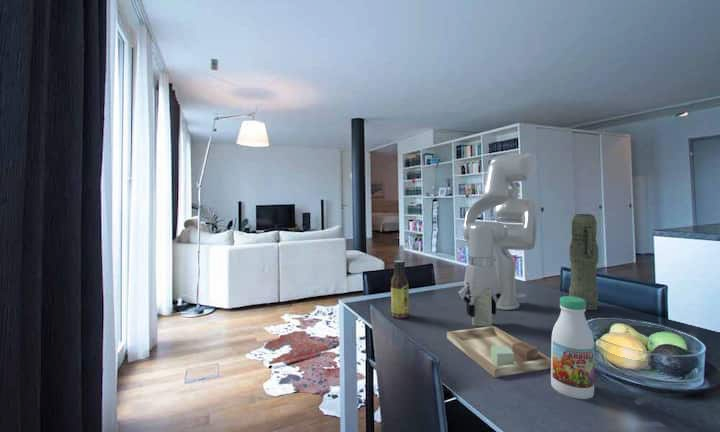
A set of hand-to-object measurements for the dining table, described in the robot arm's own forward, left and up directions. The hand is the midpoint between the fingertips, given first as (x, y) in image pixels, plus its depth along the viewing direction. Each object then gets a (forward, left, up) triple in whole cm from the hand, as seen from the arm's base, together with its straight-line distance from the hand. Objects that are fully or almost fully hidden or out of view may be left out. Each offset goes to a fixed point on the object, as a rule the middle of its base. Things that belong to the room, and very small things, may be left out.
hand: (481, 314), depth 107 cm
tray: (+9, +19, -3) cm, 21 cm away
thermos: (-46, -4, -4) cm, 46 cm away
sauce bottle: (+23, -15, -4) cm, 28 cm away
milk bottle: (+4, +38, -4) cm, 38 cm away
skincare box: (0, 0, -4) cm, 4 cm away
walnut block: (+5, +26, -3) cm, 27 cm away
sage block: (+12, +26, -3) cm, 29 cm away
